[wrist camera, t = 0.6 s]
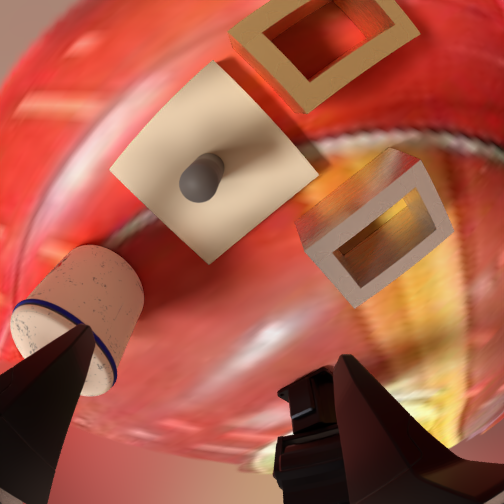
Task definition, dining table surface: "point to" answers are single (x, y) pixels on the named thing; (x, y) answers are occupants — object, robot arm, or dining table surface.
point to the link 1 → (337, 72)
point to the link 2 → (386, 237)
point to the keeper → (212, 164)
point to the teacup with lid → (83, 310)
